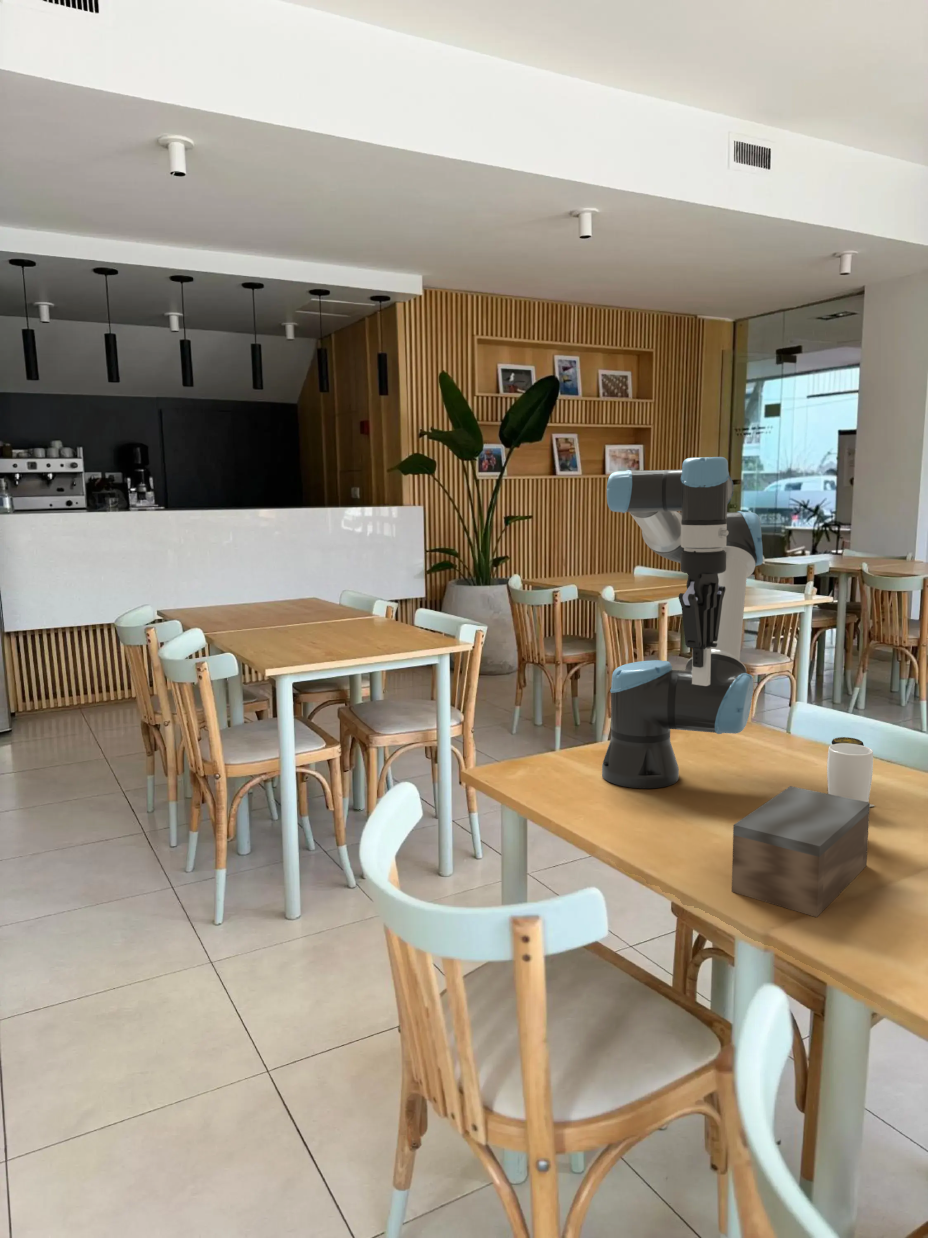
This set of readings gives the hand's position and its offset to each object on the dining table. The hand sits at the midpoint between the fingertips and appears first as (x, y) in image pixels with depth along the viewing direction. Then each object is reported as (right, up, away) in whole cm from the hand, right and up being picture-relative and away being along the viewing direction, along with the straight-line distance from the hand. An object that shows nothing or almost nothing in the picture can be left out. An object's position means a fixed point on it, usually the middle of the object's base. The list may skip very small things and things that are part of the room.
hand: (701, 684), depth 152 cm
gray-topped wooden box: (+8, -27, -23) cm, 37 cm away
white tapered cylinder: (+22, -25, -9) cm, 34 cm away
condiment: (+28, -22, +7) cm, 36 cm away
